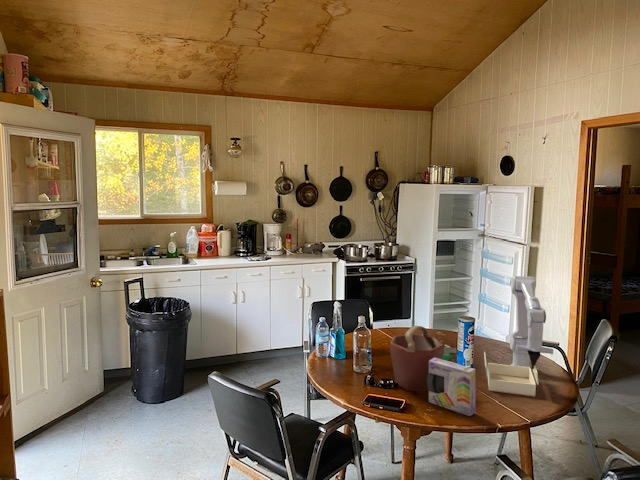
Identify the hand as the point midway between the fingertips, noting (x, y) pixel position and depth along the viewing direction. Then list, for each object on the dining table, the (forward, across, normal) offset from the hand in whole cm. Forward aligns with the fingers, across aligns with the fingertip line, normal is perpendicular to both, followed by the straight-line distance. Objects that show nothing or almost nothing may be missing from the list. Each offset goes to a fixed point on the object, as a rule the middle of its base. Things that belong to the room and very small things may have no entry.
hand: (533, 368), depth 210 cm
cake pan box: (+9, -33, -31) cm, 46 cm away
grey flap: (+1, -19, 0) cm, 19 cm away
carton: (+8, -9, 0) cm, 12 cm away
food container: (+8, -38, +14) cm, 41 cm away
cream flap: (+1, 0, 0) cm, 1 cm away
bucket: (+9, -49, -12) cm, 51 cm away
